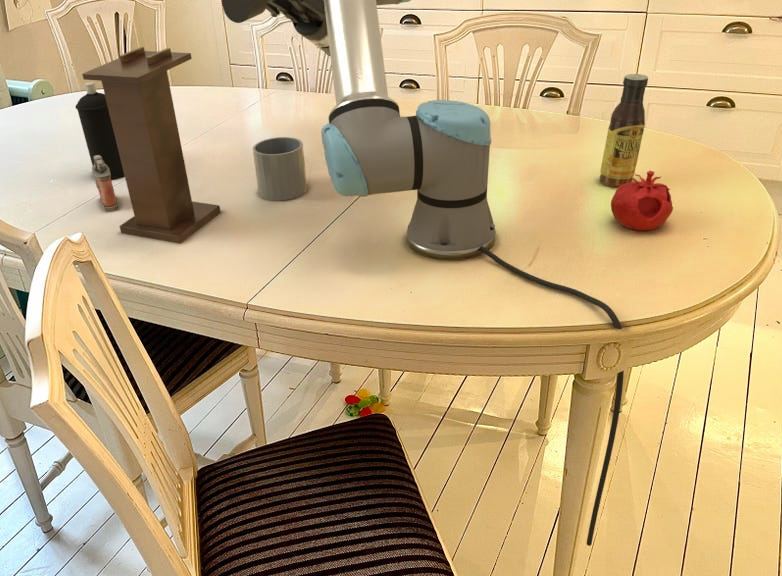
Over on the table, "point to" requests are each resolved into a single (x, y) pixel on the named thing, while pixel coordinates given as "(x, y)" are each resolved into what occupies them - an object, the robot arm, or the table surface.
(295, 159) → the steel cup
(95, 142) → the aerosol can
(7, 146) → the table surface
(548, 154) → the table surface
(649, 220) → the red hollow tomato
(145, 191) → the stand
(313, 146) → the table surface
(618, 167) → the sauce bottle
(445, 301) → the table surface
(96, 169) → the lighter
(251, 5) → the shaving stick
